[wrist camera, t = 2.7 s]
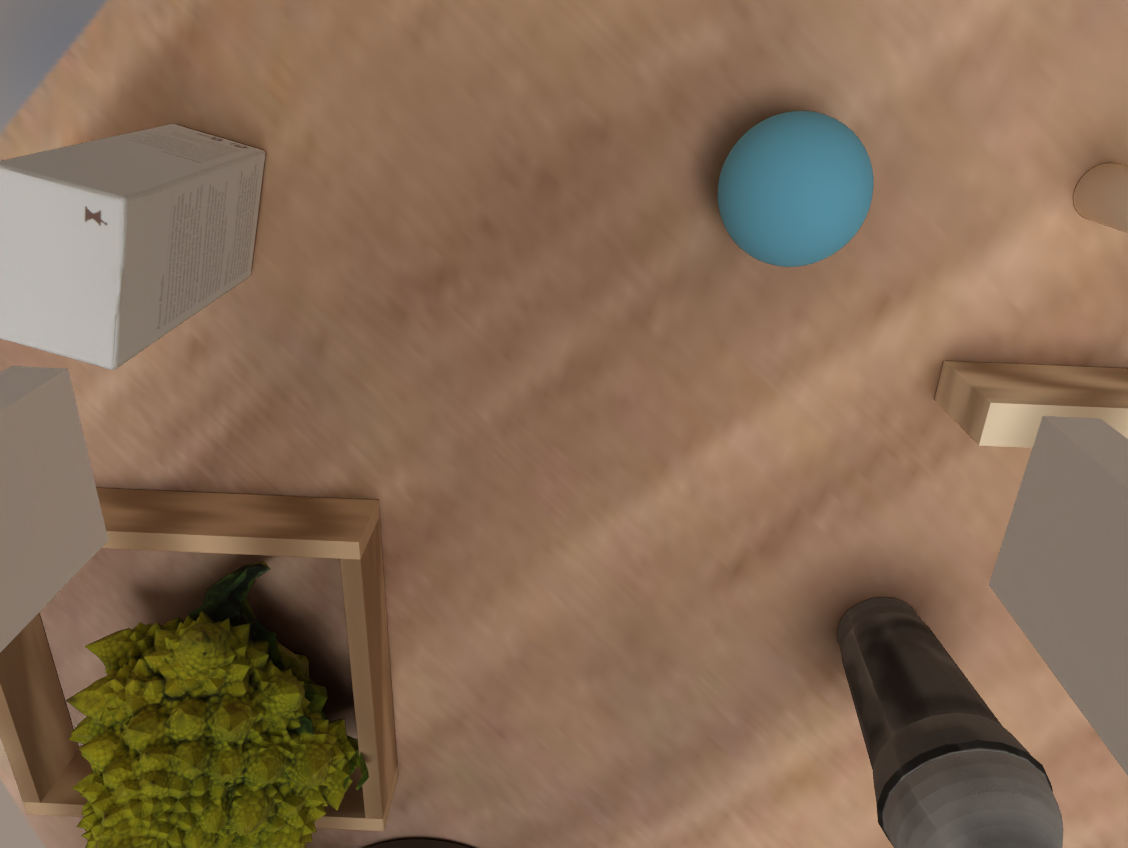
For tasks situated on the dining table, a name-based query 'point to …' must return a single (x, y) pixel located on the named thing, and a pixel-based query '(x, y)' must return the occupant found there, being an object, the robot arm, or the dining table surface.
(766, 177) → the ball
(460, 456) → the dining table surface
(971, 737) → the beverage cup
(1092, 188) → the pin
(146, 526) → the crate
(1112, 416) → the bumper
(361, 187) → the dining table surface
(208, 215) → the skincare box
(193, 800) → the vegetable
